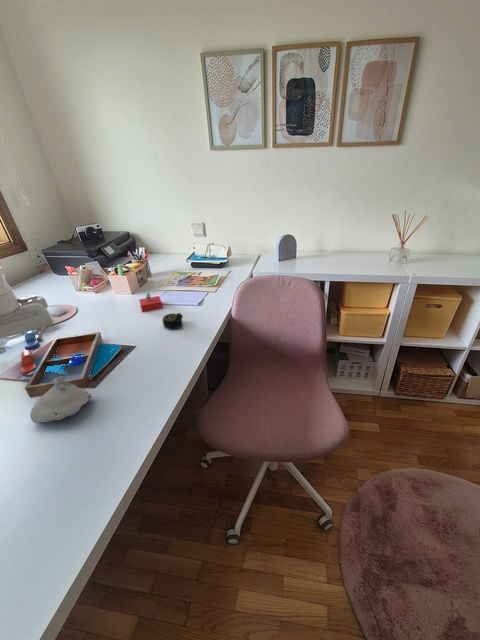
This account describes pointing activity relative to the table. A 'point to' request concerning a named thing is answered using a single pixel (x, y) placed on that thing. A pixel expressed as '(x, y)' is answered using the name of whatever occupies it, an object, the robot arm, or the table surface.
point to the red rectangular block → (150, 303)
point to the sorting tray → (66, 349)
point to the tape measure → (172, 320)
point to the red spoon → (27, 362)
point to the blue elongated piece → (31, 341)
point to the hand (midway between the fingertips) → (22, 346)
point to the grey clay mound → (59, 402)
